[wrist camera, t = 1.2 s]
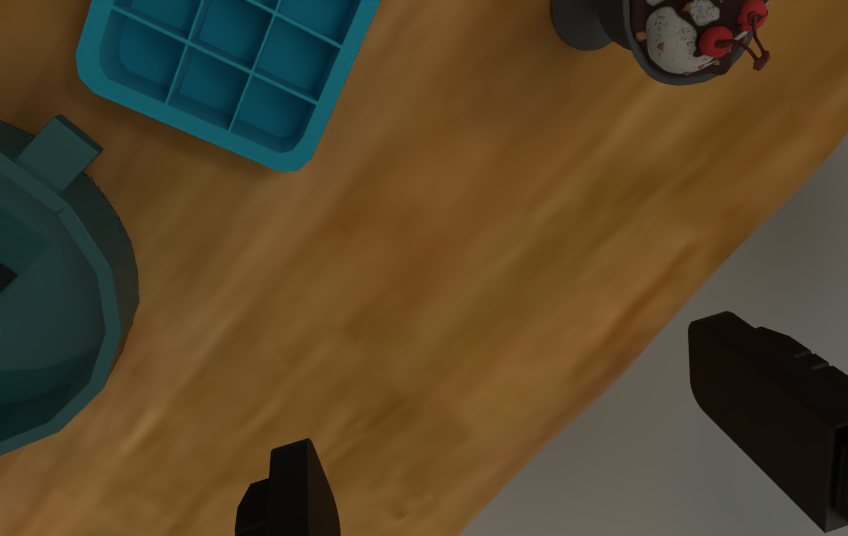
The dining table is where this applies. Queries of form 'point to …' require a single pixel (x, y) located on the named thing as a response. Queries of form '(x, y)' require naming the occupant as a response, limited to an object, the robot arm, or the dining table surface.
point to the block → (6, 277)
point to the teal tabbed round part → (57, 281)
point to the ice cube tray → (228, 67)
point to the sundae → (667, 33)
